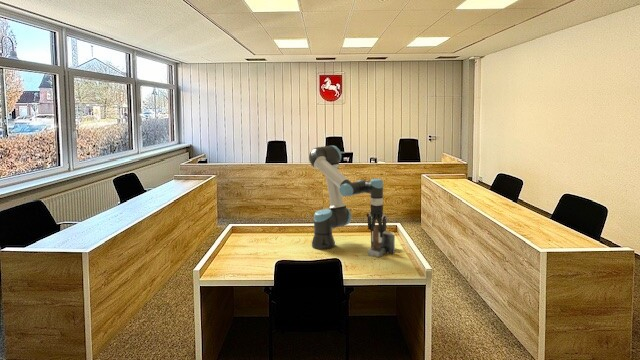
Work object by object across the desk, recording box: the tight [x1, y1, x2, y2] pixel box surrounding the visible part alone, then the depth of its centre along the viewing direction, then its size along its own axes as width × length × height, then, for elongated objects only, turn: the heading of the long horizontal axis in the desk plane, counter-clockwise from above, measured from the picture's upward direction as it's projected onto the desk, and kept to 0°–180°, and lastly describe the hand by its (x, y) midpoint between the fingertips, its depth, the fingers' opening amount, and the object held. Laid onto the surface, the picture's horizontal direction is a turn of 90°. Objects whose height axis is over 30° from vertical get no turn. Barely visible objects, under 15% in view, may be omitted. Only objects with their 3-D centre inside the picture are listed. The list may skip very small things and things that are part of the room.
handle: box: [374, 224, 380, 249], centre depth 325 cm, size 4×4×14 cm
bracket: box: [367, 233, 396, 258], centre depth 328 cm, size 16×12×12 cm
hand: (376, 241), depth 326 cm, fingers closed on handle, 4 cm apart
